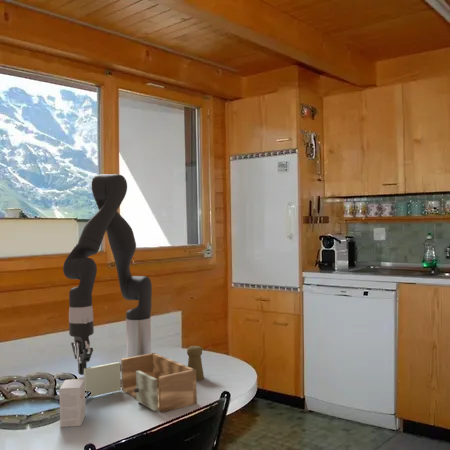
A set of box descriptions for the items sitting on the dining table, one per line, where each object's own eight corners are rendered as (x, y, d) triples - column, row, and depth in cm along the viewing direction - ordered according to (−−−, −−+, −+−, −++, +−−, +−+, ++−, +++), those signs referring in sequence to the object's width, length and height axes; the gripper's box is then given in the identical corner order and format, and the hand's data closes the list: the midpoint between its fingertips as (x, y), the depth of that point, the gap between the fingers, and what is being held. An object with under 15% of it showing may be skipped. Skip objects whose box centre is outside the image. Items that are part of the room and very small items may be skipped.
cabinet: (114, 391, 170) (113, 360, 170) (154, 382, 179) (154, 352, 179) (153, 414, 149) (152, 379, 149) (196, 403, 158) (196, 369, 158)
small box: (65, 416, 150) (65, 379, 150) (86, 415, 150) (85, 378, 150) (59, 427, 142) (58, 388, 142) (80, 426, 142) (79, 387, 142)
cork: (201, 381, 179) (200, 348, 179) (184, 380, 180) (183, 348, 180) (205, 376, 185) (205, 344, 185) (189, 375, 186) (188, 344, 186)
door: (119, 387, 172) (119, 360, 172) (122, 389, 170) (122, 362, 170) (83, 396, 165) (82, 367, 165) (85, 397, 163) (85, 369, 163)
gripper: (62, 318, 172) (63, 371, 173) (77, 324, 162) (78, 381, 162) (84, 315, 177) (86, 367, 177) (100, 321, 166) (101, 376, 166)
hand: (82, 374), depth 170 cm, fingers closed
